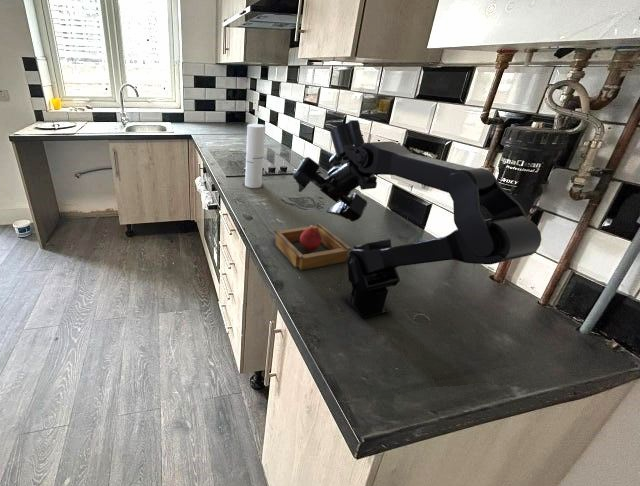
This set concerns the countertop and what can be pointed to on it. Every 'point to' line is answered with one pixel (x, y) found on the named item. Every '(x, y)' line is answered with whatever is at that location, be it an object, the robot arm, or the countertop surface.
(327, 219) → the countertop surface
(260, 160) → the cylindrical container
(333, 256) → the square wooden frame
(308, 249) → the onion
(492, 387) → the countertop surface
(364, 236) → the countertop surface
